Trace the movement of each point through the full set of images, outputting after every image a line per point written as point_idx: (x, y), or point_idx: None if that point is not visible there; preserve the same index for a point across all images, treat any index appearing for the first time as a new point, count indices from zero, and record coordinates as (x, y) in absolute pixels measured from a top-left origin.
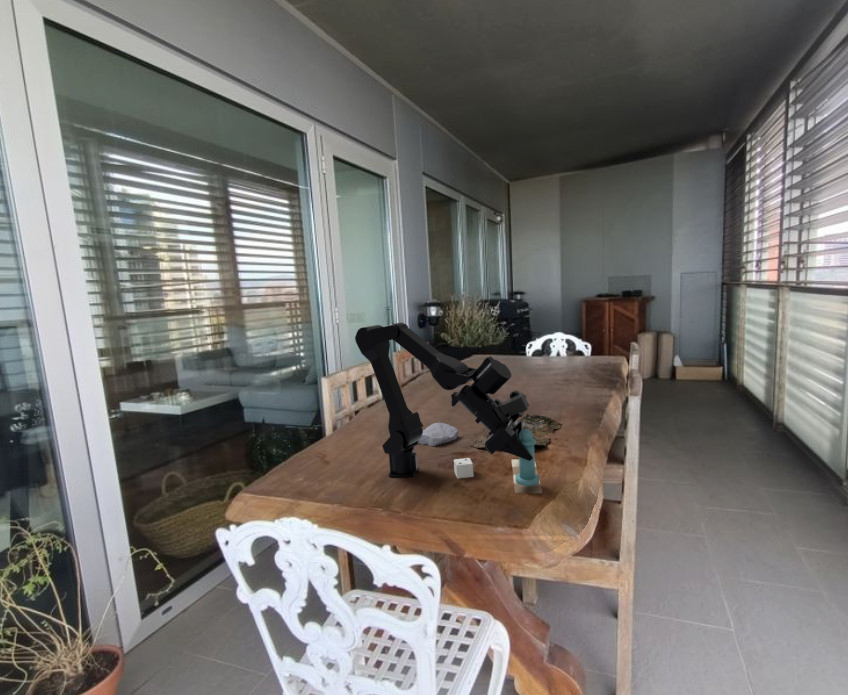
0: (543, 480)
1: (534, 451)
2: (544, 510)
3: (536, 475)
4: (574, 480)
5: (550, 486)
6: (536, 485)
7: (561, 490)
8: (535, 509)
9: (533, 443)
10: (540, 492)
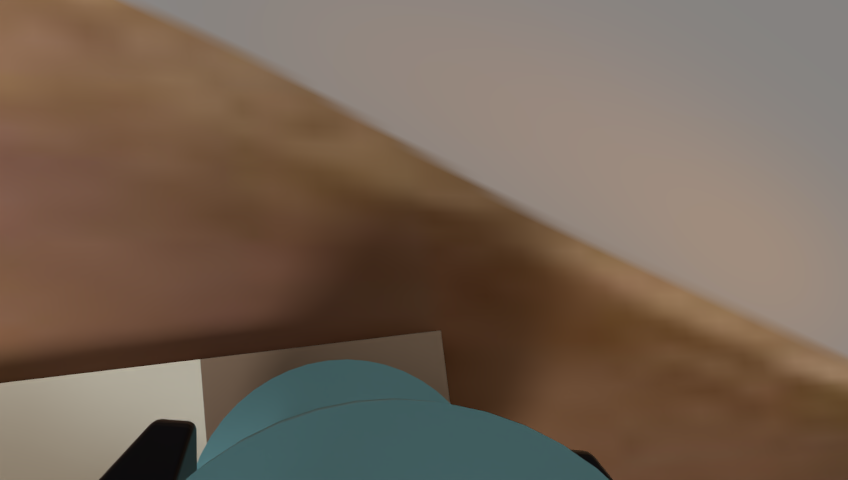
0: (49, 329)
1: (196, 437)
2: (721, 310)
3: (289, 396)
4: (37, 10)
5: (209, 254)
6: None
7: (297, 151)
8: (718, 389)
9: (575, 463)
10: (435, 350)
